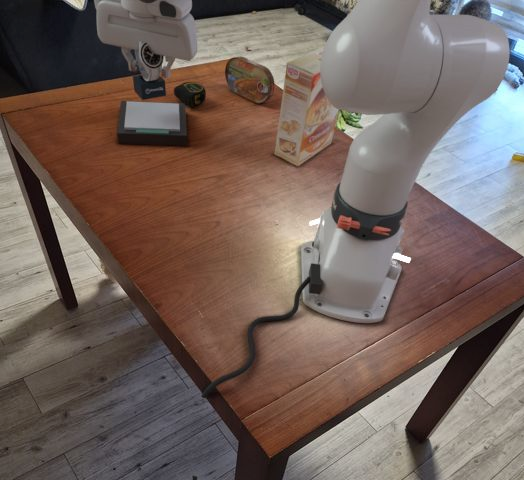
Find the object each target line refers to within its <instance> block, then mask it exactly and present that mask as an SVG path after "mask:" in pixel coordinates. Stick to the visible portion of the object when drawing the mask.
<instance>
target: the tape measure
mask: <svg viewBox="0 0 524 480" xmlns="http://www.w3.org/2000/svg"><path fill="white" fill-rule="evenodd" d="M206 93H207V92H206V88H205V87H204V85H202V84H201V83H199V82H196V81H185V82H183V83H181V84H179V85H177V86H175V87H174V89H173V95H174V96H175V97H176V98H177V99H178V100H180V102H182V103H185V105H186V106H188V107H190V108H193V107H195V106H199V105H202V104H204V102H205V101H206V98H207V94H206Z"/></svg>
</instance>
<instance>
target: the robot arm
mask: <svg viewBox="0 0 524 480" xmlns="http://www.w3.org/2000/svg"><path fill="white" fill-rule="evenodd" d="M93 2H94V8H95V10H96V31H97V33H96V34H97V37H98V39H99V40H100V42H101V43H102V44H106V45H110V46H115V47H120V49H121V53H122V55H123V57H124V59H125V60H126V62H127V64H128V71H130V72H134V73H135V72H137V71H139V68H138V60H136V59H135V58H134V56H133V53H132V52H131V51H132V50H134V51H135V50H138V51H139V42H140V41H141V42H142V43H145V42H146V43H147V44H148V48H149V49H150V51H151V52H152V53H154V54H157V55H162V56H164V58H165V62H166V63H167V64H166V65H164V66H163V65H162V70H161V71H160V76H161V77H162V78H163V79H168V80H169V79H170V78H171V77H172V76H171V75H172V72H171V71H172V70H171V68H172V66H173V65H174V63H175V62H176V61H175V60H176V59H177V60H182V61H185V62H190V61H192V60H193V59H194V58H195V56H196V55H197V53H198V34H197V26H196V21H195V18H194V16H193V15H192V14H191V10H192V8H193V1H192V0H93ZM431 3H432V0H357V1H356V4H355V5H354V7H353V8H352V10H351V11H350V12H349V13H348V14H347V16H345V18H344V19H343V20H341V21H340V22H339V23H338V24H337V25H336V27H334V28H333V31H332V32H331V33H330V35H329V37H328V38H327V40H326V42H325V45H324V46H325V47H324V50H323V53H322V57H321V64H320V76H321V82H322V87H323V90H324V92H325V95H326V96H327V98H328V100H329V101H330V103H331V104H332V105H333V106H334V107H335V108H336V109H339V111H344V112H348V113H353V114H359V115H366V116H378V115H381V116H380V117H379V118H378V119H377V120H375V122H373V123H371V124H370V125H368V126H367V127H365V128H363V130H361V131H360V132H359V133H358V134H357V135H356V136H355V137H354V139H353V140H352V142H351V144H350V146H349V149H348V152H347V153H348V154H347V156H346V160H345V164H344V168H343V171H342V175H341V179H340V182H338V184H337V185H336V189H335V191H334V193H333V196H332V202H331V207H329V208H327V209H325V210H324V211H322V212H320V216H319V218H317V219H314V220H310V221H309V226H313V225H316V224H317V227H316V231H315V235H314V238H313V240H310V241H306V242H304V243H302V245H301V248H300V265H301V266H300V267H301V284H300V285H299V287H297V289H296V292H295V294H294V300H293V307H292V309H291V310H290V311H289V312H287V313H285V314H281V315H268V316H266V315H265V316H261V317H258V318H256V319H254V320H253V321H252V322H251V323H250V324H249V326H248V329H247V343H248V346H249V358H248V360H247V361H246V362H245V364H244V365H243V366H242V367H240V368H238V369H237V370H234V371H231V372H230V373H227V374H224V375H223V376H219V377H218V378H216V379H215V380H213V381H212V382H211V383H209V385H208V386H207V387H206V388H205V389H204V391H203V392H202V393H201V398H202V399H206V398H207V397H209V395H210V394H211V392H212V391H213V390H214V389H215V388H216V387H218V386H219V385H221V384H223V383H225V382H227V381H229V380H231V379H234V378H236V377H238V376H241V375H242V374H244V373H245V372H247V371H248V370H249V369H250V368H251V367H252V365H253V363H254V361H255V357H256V347H255V342H254V336H253V335H254V333H253V332H254V329H255V327H256V326H257V325H259V324H261V323H265V322H275V321H276V322H278V321H283V320H288V319H290V318H292V317H293V316H295V314H296V313H297V312H298V310H299V306H300V298H301V295H302V303H304V304H305V305H306V306H307V307H308V308H310V309H311V310H313V311H315V312H317V313H319V314H321V315H324V316H326V317H329V318H333V319H336V320H337V319H338V320H341V321H344V322H345V321H346V322H351V323H356V324H375V323H380V322H382V321H383V320H384V318H385V315H386V312H387V310H388V307H389V305H390V302H391V299H392V296H393V294H394V291H395V289H396V286H397V283H398V280H399V278H400V275H401V272H402V269H403V267H402V265H401V264H400V263H399V262H398V260H399V261H402V262H405V263H408V264H409V263H410V262H411V260H412V258H411V257H408V256H406V255H403V254H402V252H403V250H404V248H403V247H402V246H400V243H401V241H402V239H403V236H404V234H405V230H404V228H403V227H402V223H403V221H404V219H405V216H406V213H407V209H408V204H409V203H408V200H409V196H410V194H411V193H412V189H413V188H414V185H415V182H416V181H417V178H418V176H419V174H420V172H421V171H422V170H421V169H422V168H423V166H424V164H425V162H426V161H427V159H428V157H429V156H430V155H431V153H432V152H433V150H434V149H435V148H436V147H437V145H438V144H439V143H440V142H441V140H442V139H443V138H444V137H445V136H446V135H447V133H449V131H450V130H451V129H452V128H453V127H454V126H455V125H456V124H457V122H459V121H460V120H461V119H462V118H463V117H464V116H465V115H466V114H468V113H469V112H470V111H471V110H473V109H474V108H476V107H477V106H478V105H480V104H481V103H483V102H485V101H486V100H488V99H489V98H491V97H492V96H493V95H494V94H495V93H496V91H497V90H498V89H499V87H500V86H501V84H502V82H503V80H504V78H505V77H506V73H507V71H508V68H509V62H510V53H511V52H510V51H511V49H510V41H509V37H508V35H507V33H506V30H505V29H504V28H503V27H502V26H501V25H500V24H498V23H495V22H493V21H490V20H487V19H484V18H482V17H479V16H474V15H470V14H433V13H432V14H430V10H431V9H430V8H431ZM191 477H192V480H198V476H196V475H193V474H192V476H191Z"/></svg>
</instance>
